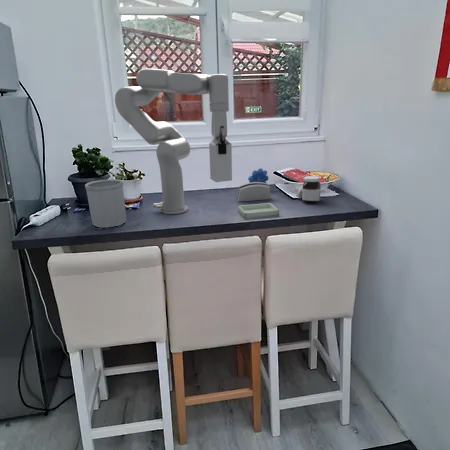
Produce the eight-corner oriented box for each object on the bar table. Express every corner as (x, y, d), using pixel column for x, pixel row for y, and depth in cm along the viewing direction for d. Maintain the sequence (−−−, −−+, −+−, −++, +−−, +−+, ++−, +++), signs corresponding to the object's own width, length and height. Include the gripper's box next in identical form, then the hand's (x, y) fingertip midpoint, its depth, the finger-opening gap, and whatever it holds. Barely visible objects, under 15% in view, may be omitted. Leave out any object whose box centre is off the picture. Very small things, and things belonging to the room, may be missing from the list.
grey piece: (268, 196, 196) (270, 179, 190) (270, 201, 193) (272, 184, 186) (235, 198, 194) (236, 181, 188) (237, 204, 190) (238, 187, 184)
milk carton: (225, 177, 168) (225, 132, 161) (232, 180, 162) (231, 133, 155) (210, 179, 165) (208, 133, 159) (216, 182, 159) (214, 135, 153)
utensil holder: (89, 221, 168) (83, 181, 163) (124, 216, 174) (119, 177, 168) (93, 231, 155) (86, 188, 150) (130, 225, 161) (125, 183, 155)
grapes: (265, 188, 213) (265, 166, 209) (270, 190, 207) (270, 168, 203) (245, 190, 210) (244, 168, 206) (249, 193, 204) (249, 170, 200)
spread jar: (316, 205, 179) (317, 180, 175) (292, 203, 183) (293, 178, 180) (322, 198, 189) (323, 174, 185) (299, 196, 194) (300, 173, 190)
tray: (244, 219, 163) (244, 213, 162) (238, 211, 174) (237, 205, 174) (279, 215, 166) (279, 210, 165) (270, 208, 177) (270, 202, 176)
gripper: (206, 107, 161) (207, 149, 167) (213, 109, 145) (215, 156, 151) (224, 106, 163) (225, 149, 168) (233, 108, 146) (234, 155, 152)
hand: (220, 152), depth 160 cm, fingers closed on milk carton, 7 cm apart
